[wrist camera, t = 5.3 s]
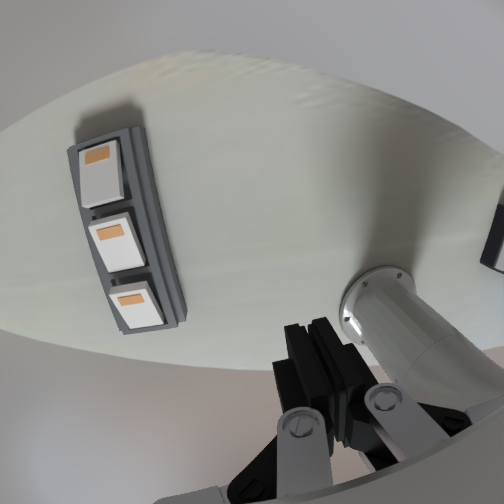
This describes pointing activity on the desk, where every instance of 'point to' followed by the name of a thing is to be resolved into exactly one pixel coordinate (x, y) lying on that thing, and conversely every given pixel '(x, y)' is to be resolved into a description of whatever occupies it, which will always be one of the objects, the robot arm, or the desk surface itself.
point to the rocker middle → (117, 242)
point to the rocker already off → (137, 304)
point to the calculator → (495, 243)
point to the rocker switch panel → (145, 224)
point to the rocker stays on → (101, 174)
